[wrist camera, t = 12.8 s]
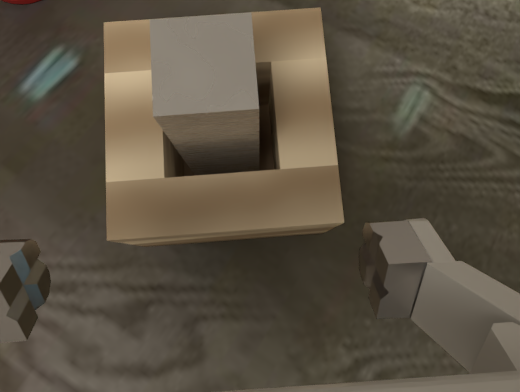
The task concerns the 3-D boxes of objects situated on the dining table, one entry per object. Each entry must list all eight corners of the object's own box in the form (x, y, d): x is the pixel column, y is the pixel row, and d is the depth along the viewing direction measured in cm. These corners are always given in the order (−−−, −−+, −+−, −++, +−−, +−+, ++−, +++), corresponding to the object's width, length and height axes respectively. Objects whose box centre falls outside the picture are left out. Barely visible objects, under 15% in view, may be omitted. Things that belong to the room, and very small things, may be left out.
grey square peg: (259, 176, 27) (259, 108, 15) (199, 181, 27) (153, 116, 15) (254, 119, 28) (251, 12, 16) (196, 123, 28) (149, 19, 16)
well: (323, 233, 28) (344, 222, 21) (145, 246, 28) (106, 240, 21) (306, 67, 30) (320, 7, 23) (140, 79, 30) (103, 22, 23)
